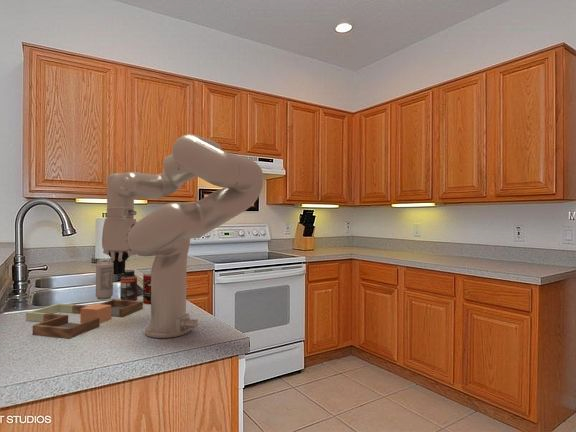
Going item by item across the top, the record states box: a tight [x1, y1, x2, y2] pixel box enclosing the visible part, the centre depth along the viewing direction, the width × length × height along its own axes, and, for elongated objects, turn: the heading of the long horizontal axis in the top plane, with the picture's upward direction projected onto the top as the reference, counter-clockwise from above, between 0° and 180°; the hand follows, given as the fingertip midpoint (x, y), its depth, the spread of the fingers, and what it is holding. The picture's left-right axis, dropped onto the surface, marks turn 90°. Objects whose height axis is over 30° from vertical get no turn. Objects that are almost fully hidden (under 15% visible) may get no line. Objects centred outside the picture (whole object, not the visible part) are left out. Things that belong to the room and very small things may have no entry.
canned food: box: [142, 271, 151, 305], centre depth 138 cm, size 8×8×11 cm
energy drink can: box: [95, 258, 114, 301], centre depth 143 cm, size 6×6×15 cm
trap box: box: [25, 299, 144, 339], centre depth 115 cm, size 26×32×2 cm
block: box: [79, 303, 112, 324], centre depth 113 cm, size 6×6×4 cm
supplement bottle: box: [120, 269, 138, 301], centre depth 141 cm, size 6×6×11 cm
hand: (119, 273), depth 112 cm, fingers closed
